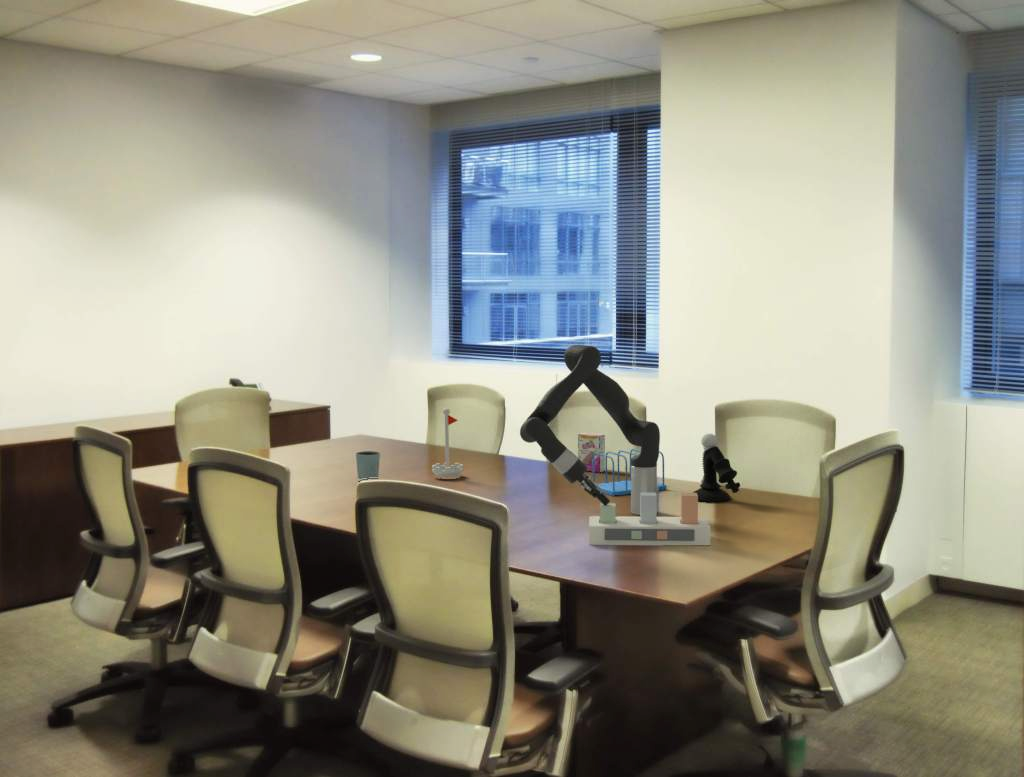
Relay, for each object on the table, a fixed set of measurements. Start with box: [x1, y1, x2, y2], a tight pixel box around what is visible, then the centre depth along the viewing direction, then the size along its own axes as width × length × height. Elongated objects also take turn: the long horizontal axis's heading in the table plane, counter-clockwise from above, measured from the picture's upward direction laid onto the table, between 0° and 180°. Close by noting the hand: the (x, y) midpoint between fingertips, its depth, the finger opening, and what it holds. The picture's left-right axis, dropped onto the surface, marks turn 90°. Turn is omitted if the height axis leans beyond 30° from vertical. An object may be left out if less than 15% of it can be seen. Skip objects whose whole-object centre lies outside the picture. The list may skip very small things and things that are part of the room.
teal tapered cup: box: [355, 450, 381, 481], centre depth 440 cm, size 10×10×12 cm
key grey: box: [639, 492, 658, 524], centre depth 334 cm, size 5×5×10 cm
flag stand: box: [431, 407, 464, 477], centre depth 444 cm, size 13×13×30 cm
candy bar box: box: [577, 432, 606, 474], centre depth 455 cm, size 11×5×16 cm, turn 58°
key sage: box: [599, 502, 617, 523], centre depth 335 cm, size 5×5×10 cm
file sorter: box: [592, 448, 668, 497], centre depth 415 cm, size 25×17×15 cm
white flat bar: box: [588, 515, 711, 546], centre depth 334 cm, size 38×15×6 cm, turn 85°
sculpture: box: [692, 433, 741, 504], centre depth 390 cm, size 15×24×25 cm, turn 27°
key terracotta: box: [680, 492, 699, 524], centre depth 332 cm, size 5×5×10 cm
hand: (607, 503), depth 335 cm, fingers closed
